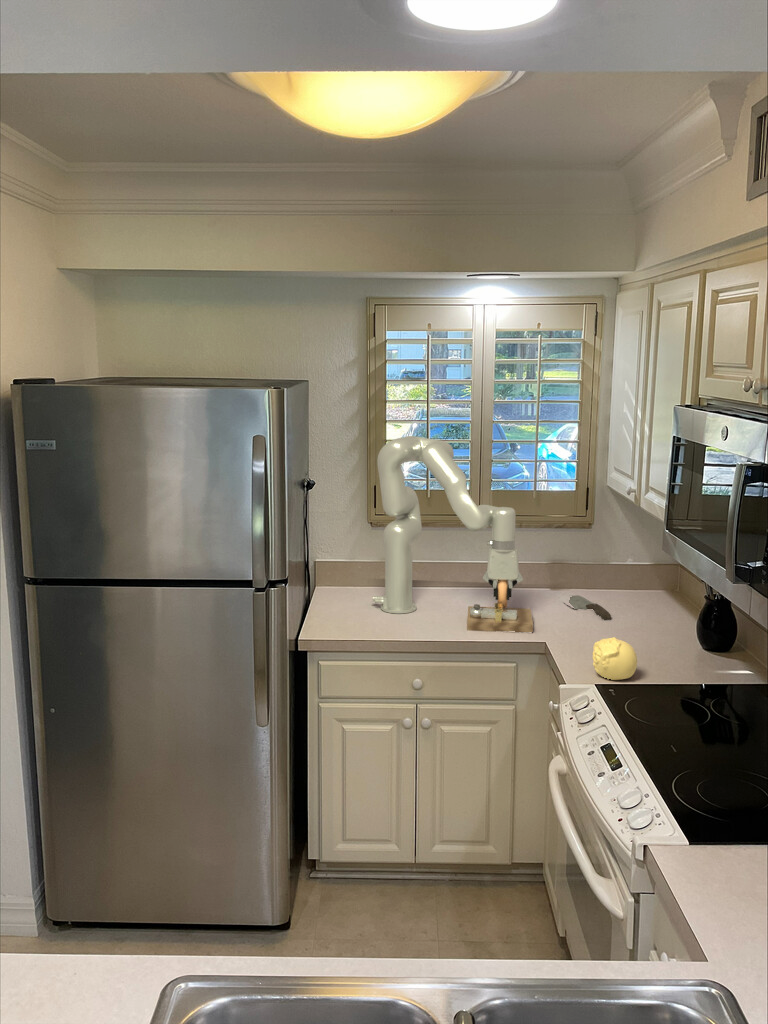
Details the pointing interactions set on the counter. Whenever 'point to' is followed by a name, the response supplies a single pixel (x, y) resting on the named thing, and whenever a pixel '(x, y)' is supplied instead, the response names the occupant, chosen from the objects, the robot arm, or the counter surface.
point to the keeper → (498, 612)
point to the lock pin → (502, 592)
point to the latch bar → (492, 613)
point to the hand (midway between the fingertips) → (502, 598)
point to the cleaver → (589, 606)
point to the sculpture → (614, 659)
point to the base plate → (489, 624)
